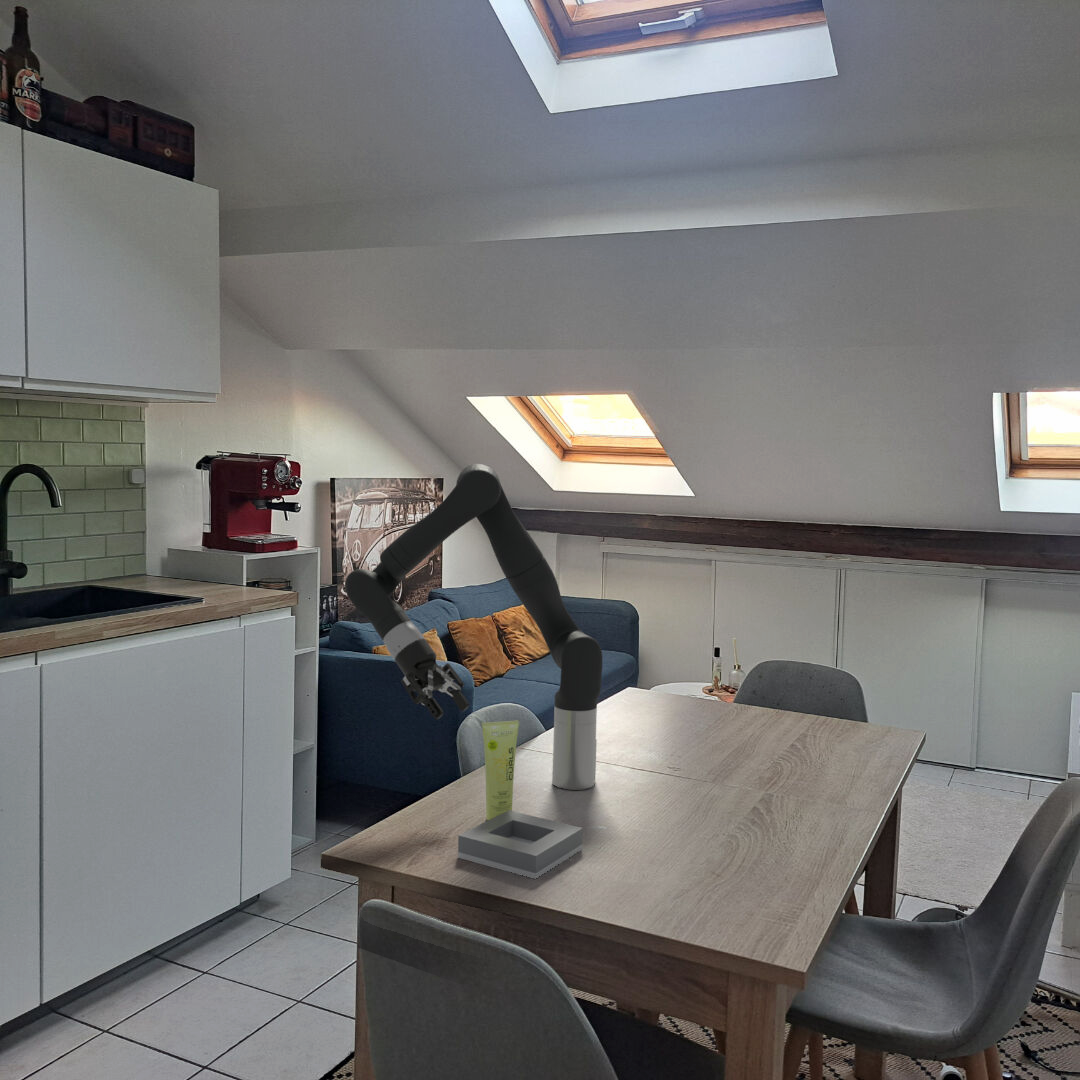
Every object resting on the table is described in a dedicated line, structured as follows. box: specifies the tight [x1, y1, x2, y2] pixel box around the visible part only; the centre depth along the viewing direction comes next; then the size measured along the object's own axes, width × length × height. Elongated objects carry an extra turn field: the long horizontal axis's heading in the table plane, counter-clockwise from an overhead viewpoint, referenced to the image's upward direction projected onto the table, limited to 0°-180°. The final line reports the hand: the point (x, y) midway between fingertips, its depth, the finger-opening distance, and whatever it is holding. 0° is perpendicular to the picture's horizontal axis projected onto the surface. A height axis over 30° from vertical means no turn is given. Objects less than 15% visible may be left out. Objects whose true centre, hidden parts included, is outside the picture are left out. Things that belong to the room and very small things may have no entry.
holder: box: [457, 810, 584, 880], centre depth 178 cm, size 16×16×4 cm
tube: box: [481, 719, 520, 821], centre depth 194 cm, size 6×5×20 cm
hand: (453, 712), depth 199 cm, fingers open, 8 cm apart
